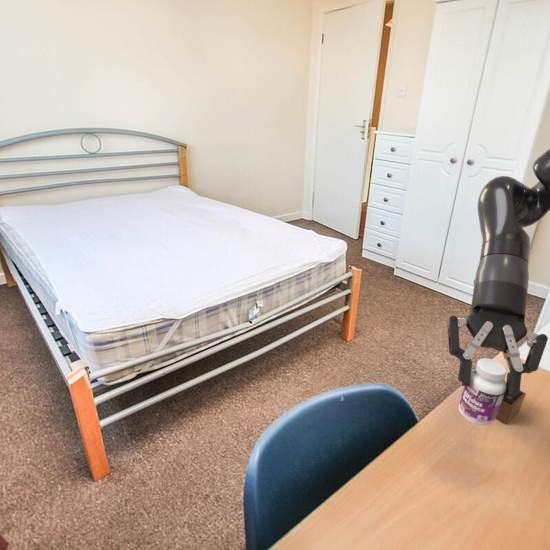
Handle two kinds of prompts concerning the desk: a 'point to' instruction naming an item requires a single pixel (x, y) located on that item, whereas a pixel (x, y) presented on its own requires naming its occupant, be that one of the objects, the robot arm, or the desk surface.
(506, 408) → the dark brown open bin
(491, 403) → the pill bottle
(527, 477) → the desk surface
